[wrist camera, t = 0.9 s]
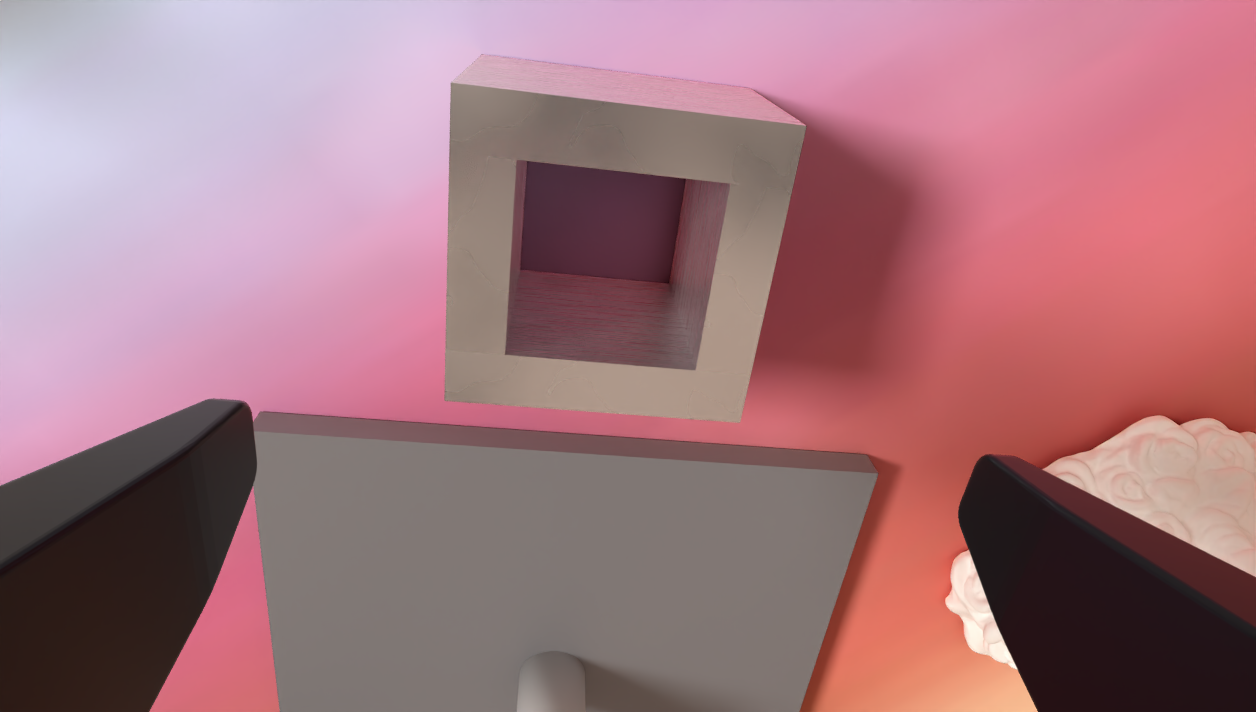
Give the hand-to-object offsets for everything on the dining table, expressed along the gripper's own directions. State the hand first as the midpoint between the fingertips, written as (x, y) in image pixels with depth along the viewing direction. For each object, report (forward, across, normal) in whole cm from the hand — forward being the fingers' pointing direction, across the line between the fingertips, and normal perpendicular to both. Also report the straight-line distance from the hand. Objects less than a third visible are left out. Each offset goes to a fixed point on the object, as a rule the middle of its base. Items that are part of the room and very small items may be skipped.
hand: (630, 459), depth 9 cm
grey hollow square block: (+11, 0, 0) cm, 11 cm away
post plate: (+11, 0, +16) cm, 20 cm away
